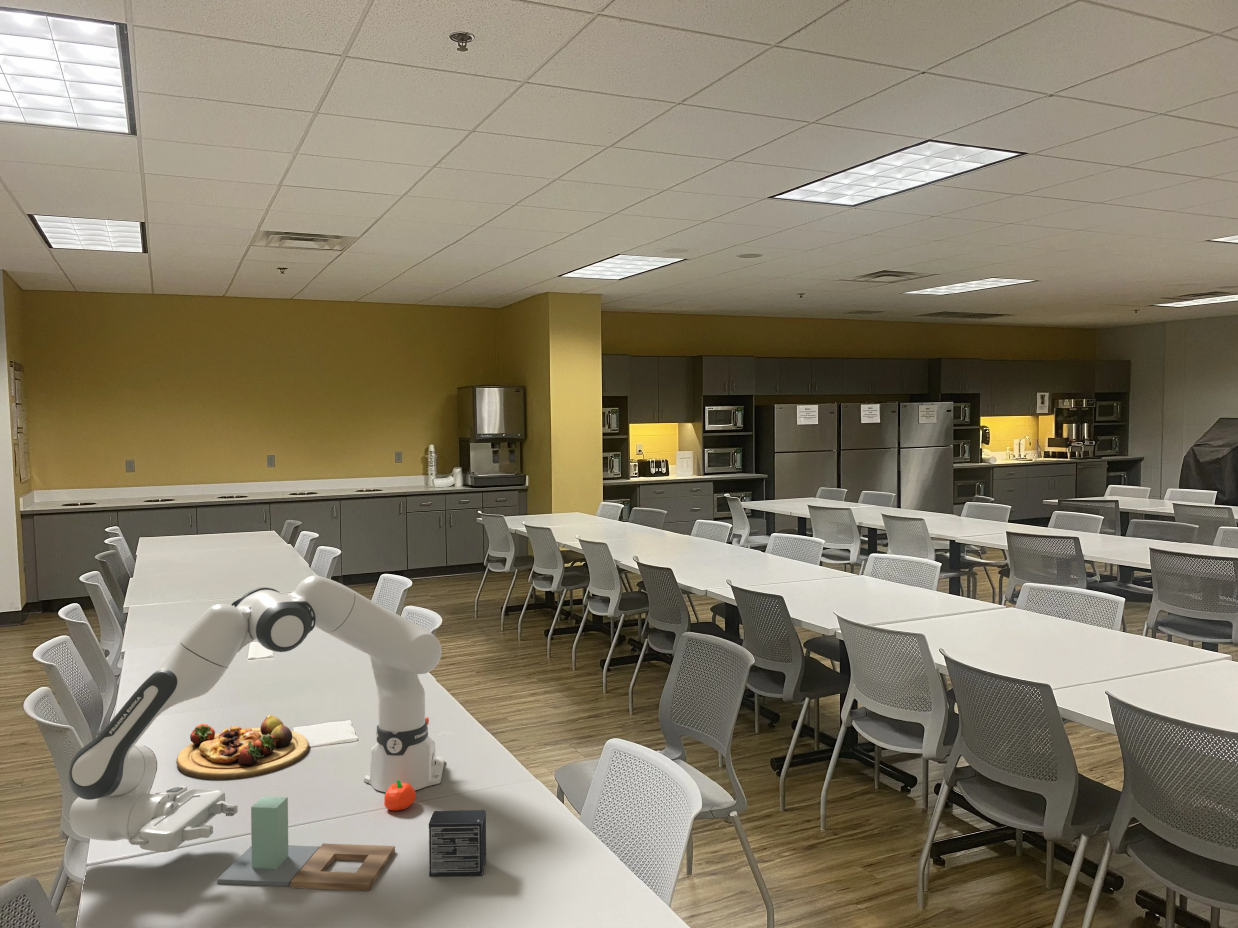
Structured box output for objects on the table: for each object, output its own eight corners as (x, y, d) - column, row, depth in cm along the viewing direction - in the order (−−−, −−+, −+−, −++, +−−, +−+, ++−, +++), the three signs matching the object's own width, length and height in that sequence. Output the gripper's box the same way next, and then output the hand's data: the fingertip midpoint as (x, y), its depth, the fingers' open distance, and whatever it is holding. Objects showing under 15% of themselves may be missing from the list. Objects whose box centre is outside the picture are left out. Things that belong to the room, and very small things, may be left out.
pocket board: (323, 848, 178) (323, 843, 178) (394, 851, 177) (394, 845, 177) (290, 887, 163) (290, 881, 163) (368, 890, 162) (368, 884, 162)
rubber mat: (253, 847, 178) (253, 843, 178) (319, 850, 177) (319, 846, 177) (217, 883, 164) (217, 878, 164) (289, 885, 163) (289, 881, 163)
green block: (264, 855, 173) (263, 796, 173) (288, 856, 173) (287, 796, 173) (251, 867, 168) (251, 807, 168) (276, 868, 168) (276, 807, 168)
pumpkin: (385, 819, 193) (381, 791, 192) (385, 804, 201) (381, 777, 200) (418, 811, 195) (414, 783, 194) (416, 796, 202) (413, 770, 202)
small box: (487, 859, 174) (487, 807, 173) (483, 876, 167) (483, 822, 167) (434, 860, 173) (433, 808, 173) (428, 877, 167) (427, 823, 167)
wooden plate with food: (148, 766, 222) (148, 734, 221) (253, 727, 250) (252, 698, 250) (233, 793, 207) (233, 759, 207) (334, 748, 235) (334, 718, 235)
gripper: (122, 825, 161) (194, 828, 160) (184, 781, 181) (248, 784, 181) (122, 859, 161) (195, 862, 160) (184, 811, 182) (248, 814, 181)
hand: (223, 820), depth 171 cm, fingers open, 8 cm apart
